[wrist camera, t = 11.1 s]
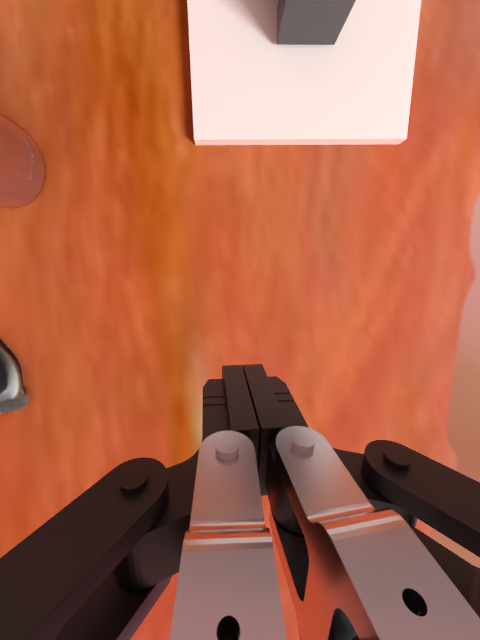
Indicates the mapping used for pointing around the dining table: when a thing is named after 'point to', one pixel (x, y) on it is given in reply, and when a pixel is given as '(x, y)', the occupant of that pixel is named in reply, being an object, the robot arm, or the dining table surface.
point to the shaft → (311, 21)
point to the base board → (301, 76)
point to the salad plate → (10, 382)
